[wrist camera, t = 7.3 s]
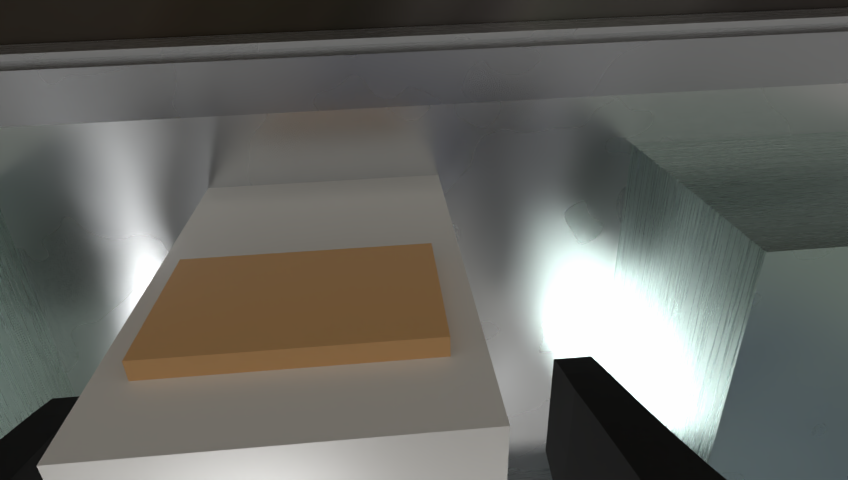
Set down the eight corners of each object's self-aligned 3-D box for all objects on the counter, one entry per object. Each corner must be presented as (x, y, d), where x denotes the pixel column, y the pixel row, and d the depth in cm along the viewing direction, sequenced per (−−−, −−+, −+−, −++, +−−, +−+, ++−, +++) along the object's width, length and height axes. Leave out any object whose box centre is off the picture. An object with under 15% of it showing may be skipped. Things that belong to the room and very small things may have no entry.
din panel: (919, 4, 11) (1302, 56, 6) (771, 440, 16) (926, 637, 11) (-380, 62, 9) (-1034, 177, 5) (-83, 517, 15) (-279, 772, 10)
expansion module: (438, 161, 10) (511, 405, 5) (443, 456, 14) (491, 787, 8) (205, 174, 10) (25, 445, 5) (269, 471, 13) (205, 821, 8)
